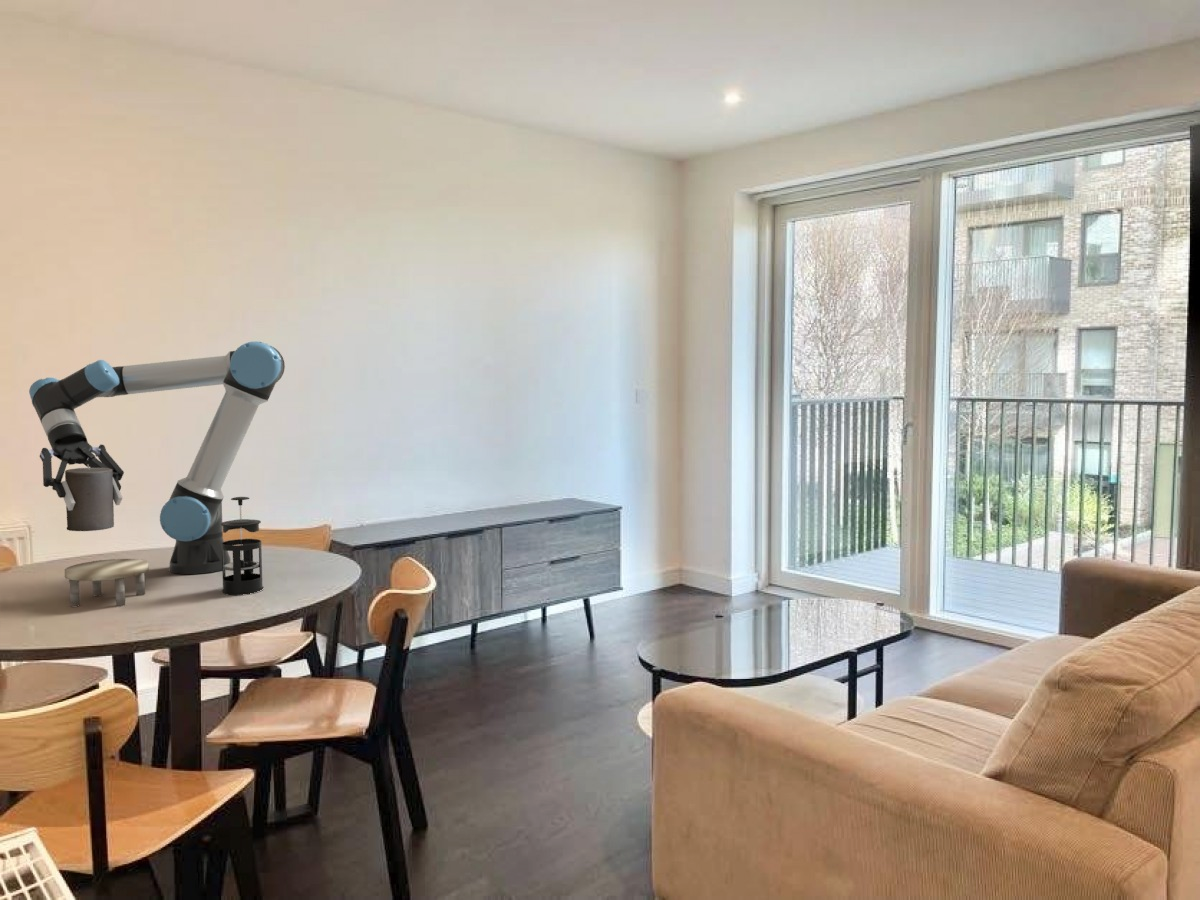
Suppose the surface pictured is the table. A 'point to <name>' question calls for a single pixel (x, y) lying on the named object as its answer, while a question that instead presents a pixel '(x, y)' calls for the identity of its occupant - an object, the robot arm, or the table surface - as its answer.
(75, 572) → the beige round legged stand
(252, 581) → the french press
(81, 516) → the pillar candle
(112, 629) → the table surface
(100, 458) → the robot arm
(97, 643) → the table surface
